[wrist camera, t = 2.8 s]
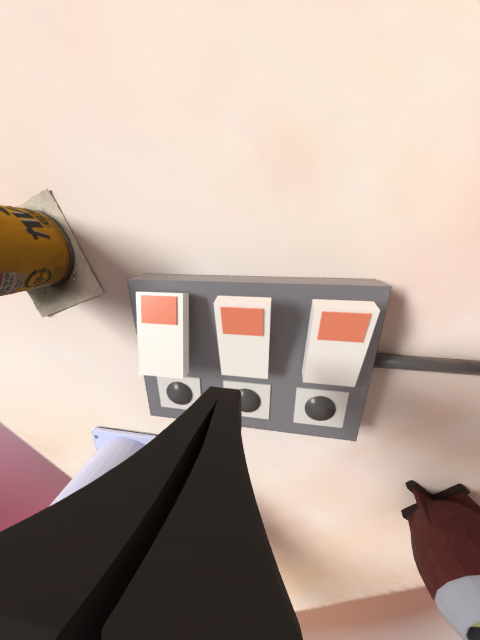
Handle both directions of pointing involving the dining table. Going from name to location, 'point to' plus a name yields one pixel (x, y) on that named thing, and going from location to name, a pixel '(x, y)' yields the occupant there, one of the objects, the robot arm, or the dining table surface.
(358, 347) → the rocker near camera
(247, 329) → the rocker middle
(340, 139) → the dining table surface
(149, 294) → the rocker near arm
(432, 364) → the rocker switch panel
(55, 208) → the condiment
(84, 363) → the dining table surface
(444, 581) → the mate gourd
